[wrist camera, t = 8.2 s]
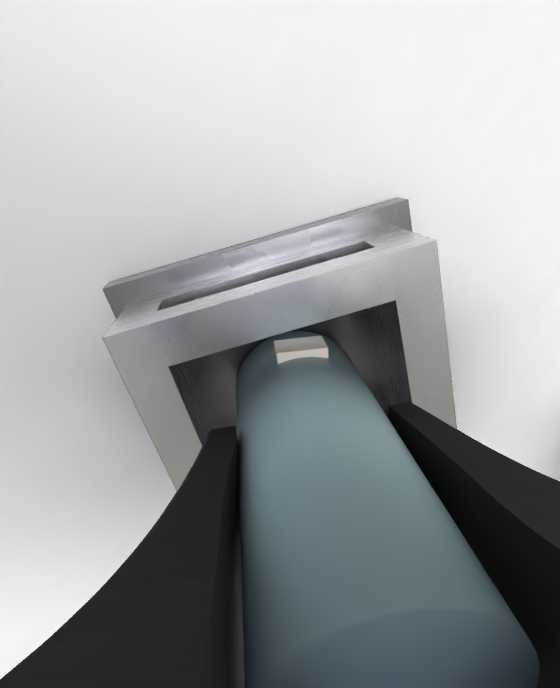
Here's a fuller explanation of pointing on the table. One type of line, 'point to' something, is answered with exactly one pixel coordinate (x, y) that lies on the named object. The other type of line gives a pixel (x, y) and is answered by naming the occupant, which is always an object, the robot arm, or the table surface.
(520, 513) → the robot arm
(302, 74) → the table surface
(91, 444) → the table surface
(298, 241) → the box
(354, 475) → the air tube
